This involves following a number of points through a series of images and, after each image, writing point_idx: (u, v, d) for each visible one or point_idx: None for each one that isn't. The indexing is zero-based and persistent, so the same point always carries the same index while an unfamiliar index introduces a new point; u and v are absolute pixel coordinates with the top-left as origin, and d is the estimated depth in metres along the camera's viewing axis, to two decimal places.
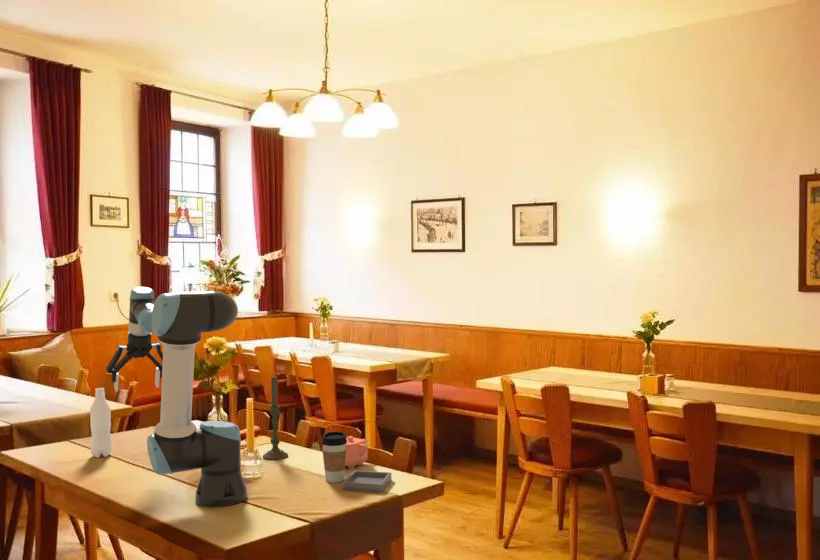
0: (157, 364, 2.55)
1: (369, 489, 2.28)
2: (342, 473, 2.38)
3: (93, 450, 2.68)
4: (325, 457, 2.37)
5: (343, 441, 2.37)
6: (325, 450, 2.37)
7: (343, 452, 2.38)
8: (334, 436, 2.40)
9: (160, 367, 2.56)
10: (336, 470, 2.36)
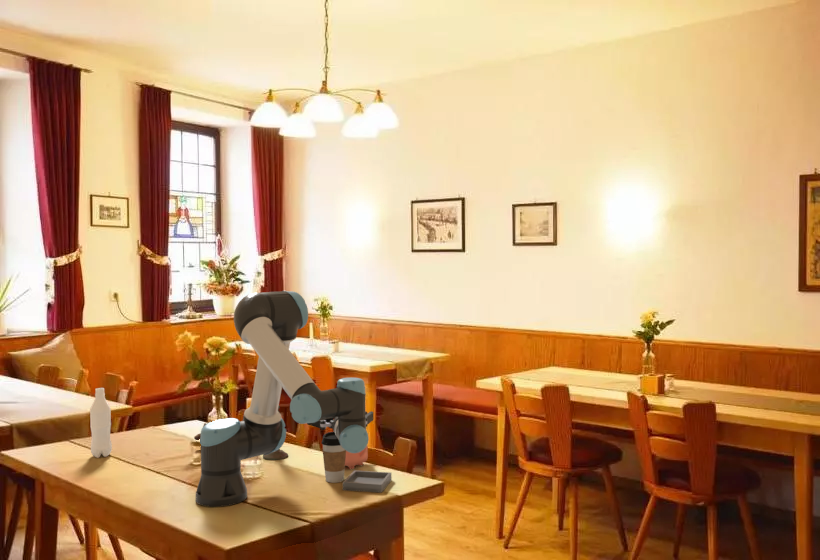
0: None
1: (369, 489, 2.28)
2: (342, 473, 2.38)
3: (93, 450, 2.68)
4: (325, 457, 2.37)
5: None
6: (325, 450, 2.37)
7: (344, 452, 2.38)
8: (334, 436, 2.40)
9: None
10: (336, 470, 2.36)
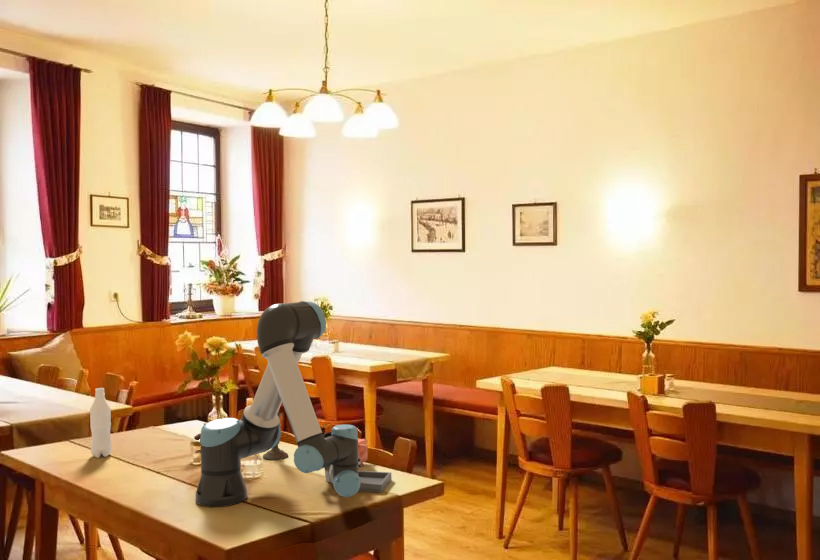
0: None
1: (369, 489, 2.28)
2: None
3: (93, 450, 2.68)
4: None
5: None
6: None
7: None
8: None
9: None
10: None
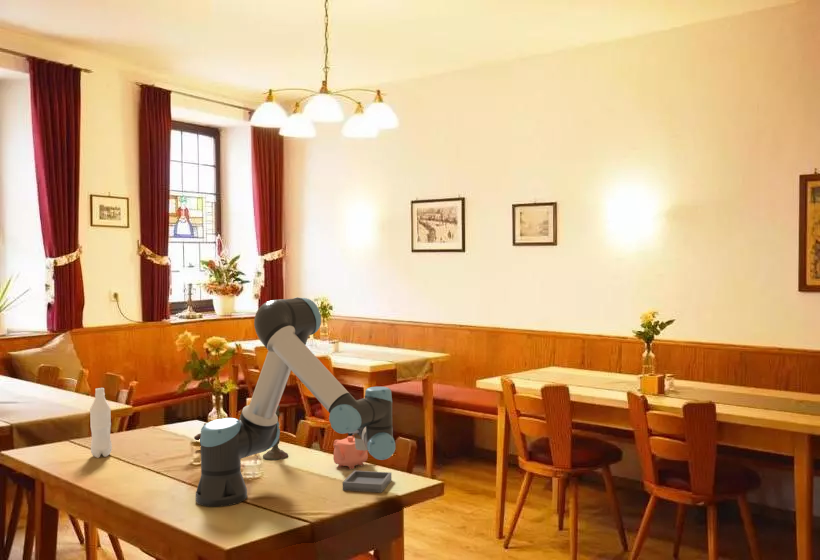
0: None
1: (369, 489, 2.28)
2: None
3: (93, 450, 2.68)
4: None
5: None
6: None
7: None
8: None
9: None
10: None
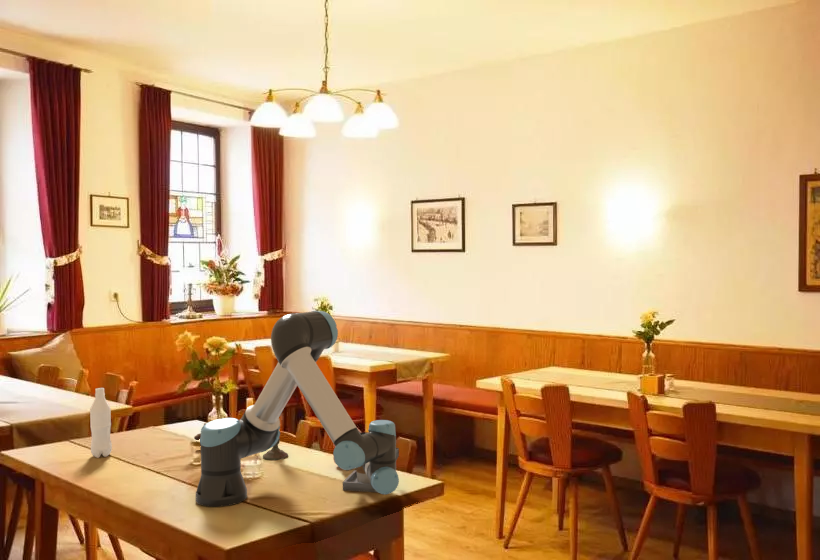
0: None
1: (369, 489, 2.28)
2: None
3: (93, 450, 2.68)
4: None
5: None
6: None
7: None
8: None
9: None
10: None
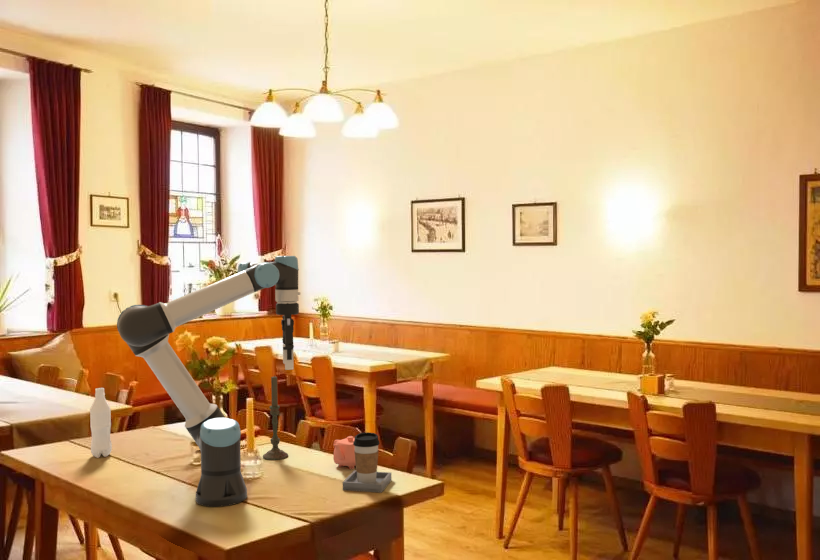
0: None
1: (369, 489, 2.28)
2: (374, 475, 2.32)
3: (93, 450, 2.68)
4: (357, 458, 2.31)
5: (376, 442, 2.31)
6: (357, 451, 2.31)
7: (376, 453, 2.32)
8: (366, 437, 2.35)
9: (285, 346, 2.35)
10: (369, 472, 2.31)
